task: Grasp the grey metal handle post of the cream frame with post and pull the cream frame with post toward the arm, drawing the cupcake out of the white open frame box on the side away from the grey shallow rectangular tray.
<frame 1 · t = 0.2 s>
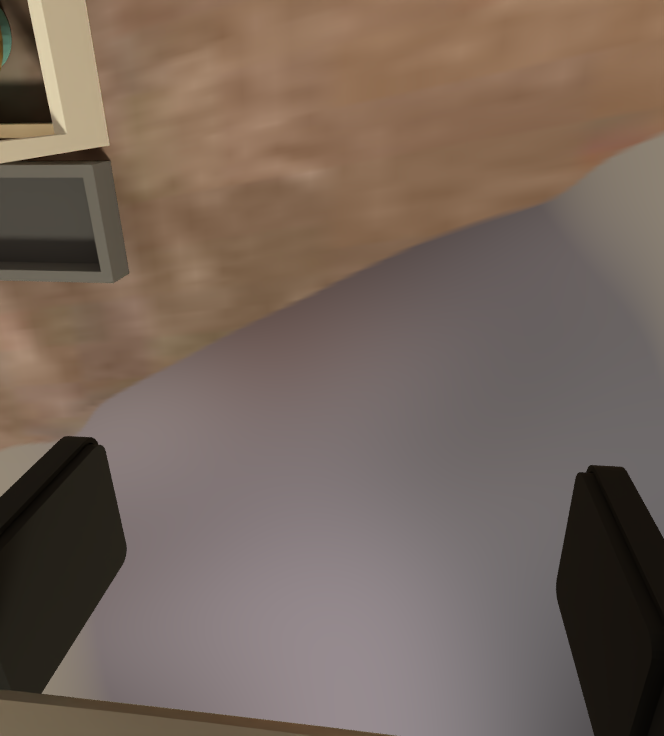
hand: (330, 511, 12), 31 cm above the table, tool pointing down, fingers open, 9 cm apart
grey shallow rectangular tray: (24, 218, 43), on the table
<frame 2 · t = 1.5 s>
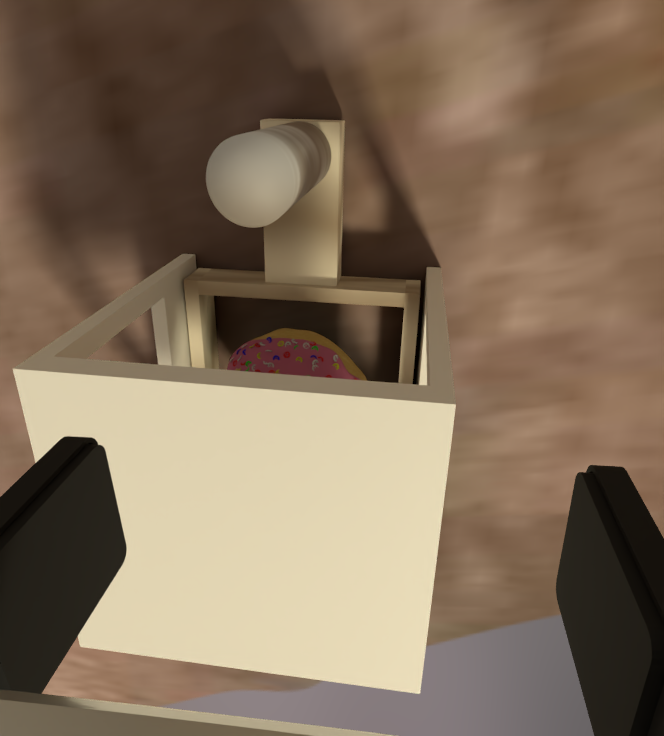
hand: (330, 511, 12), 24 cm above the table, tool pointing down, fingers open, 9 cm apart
white open frame box: (308, 368, 37), on the table
cream frame with post: (287, 346, 30), point 6 cm above the table, slide at 0.0 cm
cupcake: (309, 366, 37), resting in cream frame with post
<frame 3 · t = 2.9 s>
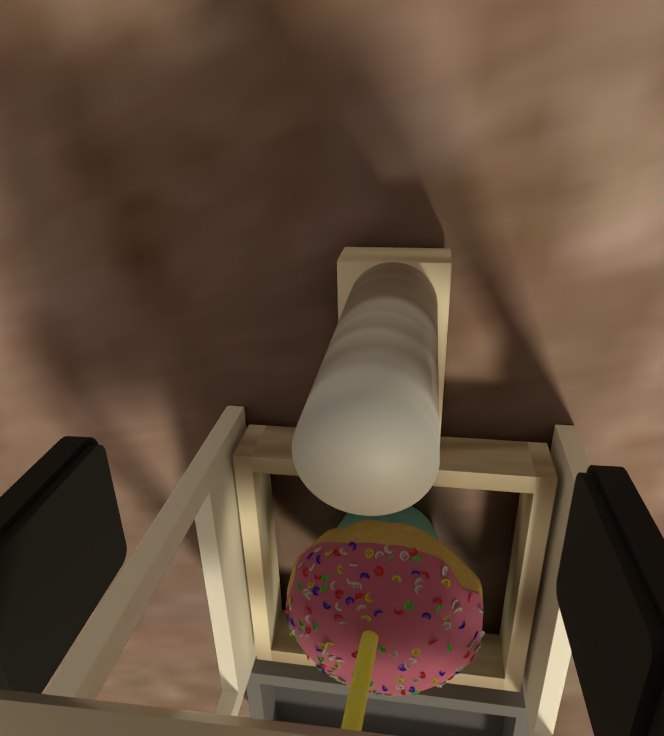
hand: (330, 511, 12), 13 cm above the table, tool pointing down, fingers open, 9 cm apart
white open frame box: (390, 537, 29), on the table
cream frame with post: (381, 566, 22), point 6 cm above the table, slide at 0.0 cm
grey shallow rectangular tray: (386, 695, 34), on the table
cupcake: (390, 533, 29), resting in cream frame with post
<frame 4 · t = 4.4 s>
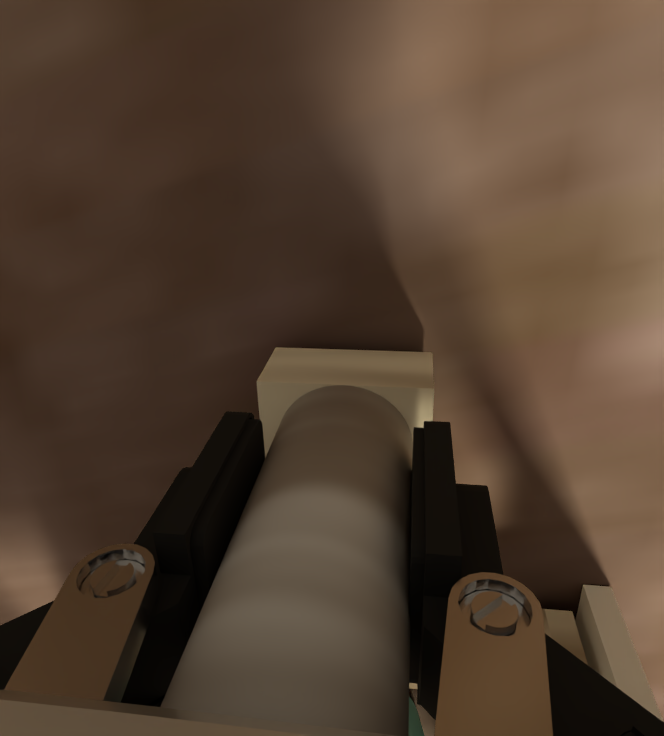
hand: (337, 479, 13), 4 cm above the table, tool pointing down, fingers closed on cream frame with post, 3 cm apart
white open frame box: (356, 711, 21), on the table
cupcake: (357, 705, 22), resting in cream frame with post
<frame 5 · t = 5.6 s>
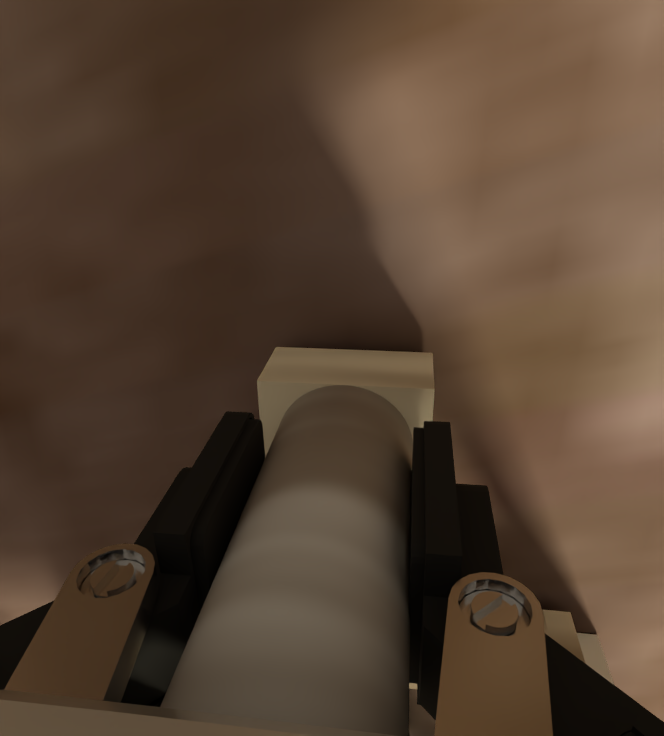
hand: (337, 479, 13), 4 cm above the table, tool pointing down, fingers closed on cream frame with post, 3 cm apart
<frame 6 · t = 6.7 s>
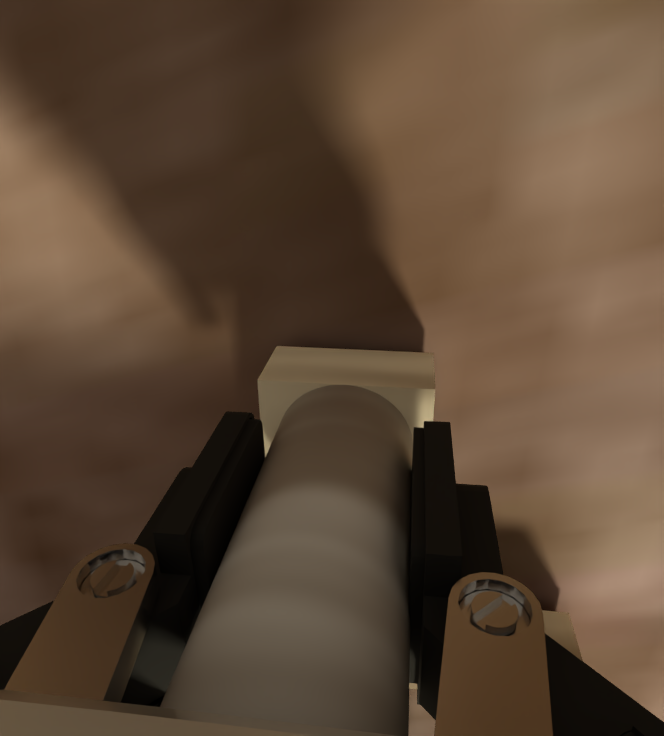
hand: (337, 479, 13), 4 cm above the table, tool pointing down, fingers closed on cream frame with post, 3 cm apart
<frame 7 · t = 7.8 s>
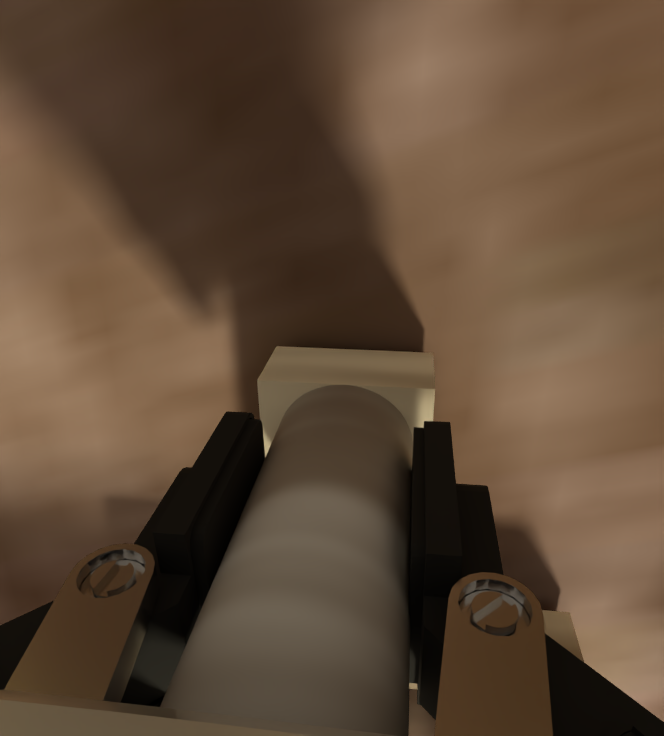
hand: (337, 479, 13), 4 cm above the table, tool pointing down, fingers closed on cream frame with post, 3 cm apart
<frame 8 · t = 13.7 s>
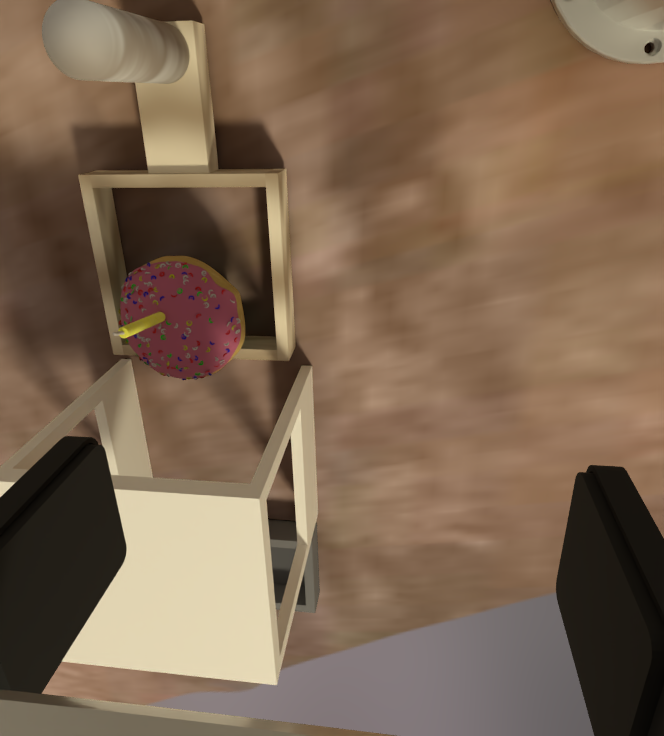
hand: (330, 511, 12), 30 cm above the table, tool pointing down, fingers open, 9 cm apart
white open frame box: (223, 439, 48), on the table
cream frame with post: (159, 219, 34), point 6 cm above the table, slide at 15.0 cm
grey shallow rectangular tray: (237, 551, 53), on the table
cupcake: (205, 297, 43), resting in cream frame with post
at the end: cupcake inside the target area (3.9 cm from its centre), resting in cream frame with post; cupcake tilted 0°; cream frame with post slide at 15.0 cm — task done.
